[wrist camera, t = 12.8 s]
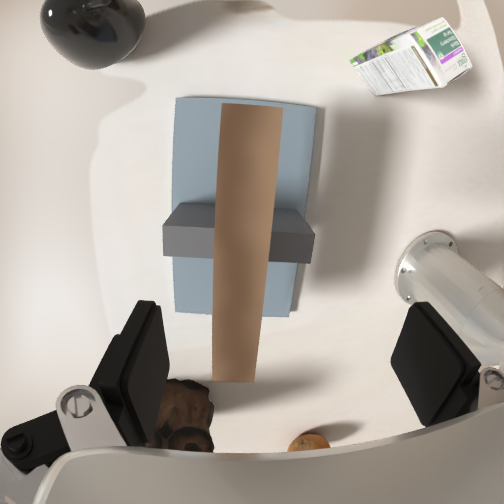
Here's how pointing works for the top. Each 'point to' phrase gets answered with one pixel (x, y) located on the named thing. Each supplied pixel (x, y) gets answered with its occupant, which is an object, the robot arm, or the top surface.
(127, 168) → the top surface
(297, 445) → the onion
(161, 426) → the owl
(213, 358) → the walnut bar
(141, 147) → the top surface
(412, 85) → the syrup box
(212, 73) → the top surface
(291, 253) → the balance stand
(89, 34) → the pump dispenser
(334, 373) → the top surface
